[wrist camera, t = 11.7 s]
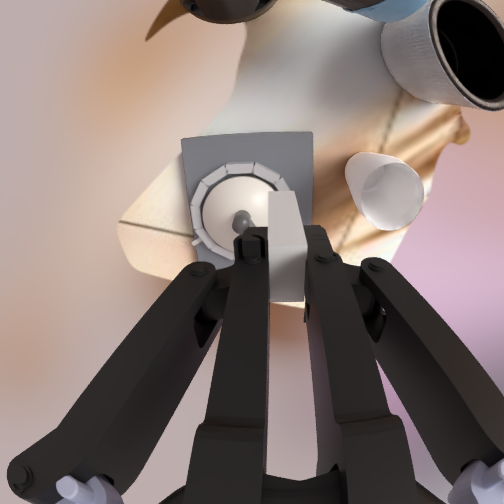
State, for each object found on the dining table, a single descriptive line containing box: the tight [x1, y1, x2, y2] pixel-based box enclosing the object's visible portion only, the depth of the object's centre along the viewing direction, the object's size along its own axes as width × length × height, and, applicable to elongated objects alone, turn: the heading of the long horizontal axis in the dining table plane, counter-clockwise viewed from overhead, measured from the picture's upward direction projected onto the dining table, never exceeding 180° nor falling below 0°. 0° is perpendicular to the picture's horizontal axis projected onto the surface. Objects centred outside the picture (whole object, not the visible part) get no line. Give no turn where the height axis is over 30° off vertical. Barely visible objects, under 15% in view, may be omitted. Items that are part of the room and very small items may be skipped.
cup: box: [345, 152, 424, 231], centre depth 35 cm, size 9×9×12 cm
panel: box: [181, 132, 313, 270], centre depth 44 cm, size 24×20×3 cm
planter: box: [381, 0, 504, 112], centre depth 23 cm, size 16×16×16 cm
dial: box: [202, 175, 275, 252], centre depth 41 cm, size 12×12×5 cm
